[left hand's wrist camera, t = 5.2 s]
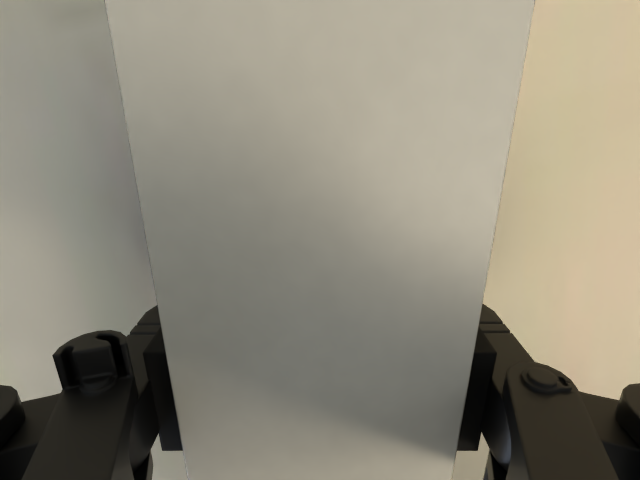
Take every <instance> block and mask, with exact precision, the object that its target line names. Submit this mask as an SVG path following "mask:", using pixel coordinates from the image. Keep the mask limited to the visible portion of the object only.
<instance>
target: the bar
mask: <svg viewBox="0 0 640 480" xmlns="http://www.w3.org/2000/svg"><path fill="white" fill-rule="evenodd" d="M104 1H105V7H106V13H107V18H108V24H109V30H110V36H111V41H112V47H113V53H114V59H115V64H116V70H117V76H118V82H119V87H120V93H121V99H122V104H123V110H124V116H125V122H126V127H127V133H128V139H129V145H130V150H131V156H132V162H133V167H134V173H135V179H136V185H137V190H138V196H139V202H140V208H141V213H142V219H143V225H144V231H145V236H146V242H147V248H148V253H149V259H150V265H151V271H152V276H153V282H154V288H155V294H156V299H157V305H158V311H159V316H160V322H161V328H162V334H163V339H164V345H165V351H166V357H167V362H168V368H169V374H170V380H171V385H172V391H173V397H174V402H175V408H176V414H177V420H178V425H179V431H180V437H181V443H182V448H183V454H184V460H185V465H186V471H187V477H188V480H452V475H453V469H454V463H455V458H456V452H457V446H458V440H459V435H460V429H461V423H462V418H463V412H464V406H465V400H466V395H467V389H468V383H469V377H470V372H471V366H472V360H473V354H474V349H475V343H476V337H477V331H478V326H479V320H480V314H481V308H482V303H483V297H484V291H485V285H486V280H487V274H488V268H489V263H490V257H491V251H492V245H493V240H494V234H495V228H496V222H497V217H498V211H499V205H500V199H501V194H502V188H503V182H504V176H505V171H506V165H507V159H508V153H509V148H510V142H511V136H512V130H513V125H514V119H515V113H516V108H517V102H518V96H519V90H520V85H521V79H522V73H523V67H524V62H525V56H526V50H527V44H528V39H529V33H530V27H531V21H532V16H533V10H534V4H535V0H104Z"/></svg>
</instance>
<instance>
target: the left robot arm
mask: <svg viewBox="0 0 640 480" xmlns="http://www.w3.org/2000/svg"><path fill="white" fill-rule="evenodd" d="M53 359H54V362H55V365H56V369H57V372H58V375H59V378H60V382H61V385H62V388H63V390H62V392H61V393H59V394H56V395H52V396H47V397H43V398H38V399H33V400H29V401H24V402H21V401H20V398H19V395H18V392H17V391H16V390H15V389H14V388H12V387H11V386H3V385H0V480H152V473H153V460H152V455H151V448H152V446H153V443H154V441H155V439H156V437H157V435H158V433H159V437H160V442H161V447H162V451H183V448H182V443H181V437H180V431H179V425H178V420H177V414H176V408H175V402H174V397H173V391H172V385H171V380H170V374H169V368H168V362H167V357H166V351H165V345H164V339H163V334H162V328H161V322H160V316H159V311H158V305H157V306H155V307H154V308H152V309H150V310H149V311H147V312H146V313H145V314H144V316H143V317H142V318H141V319H140V321H139V322H138V323H137V325H136V326H135V327H134V328H133V329H132V331H131V332H130V335H128V336H127V337H126V336H124V335H123V334H122V333H121V332H117V331H112V330H106V331H96V332H92V333H87V334H84V335H81V336H79V337H77V338H74V339H72V340H70V341H68V342H67V343H65V344H64V345H62V346H61V347H59V349H58V350H57V351H56V352H55V353H54V354H53ZM481 432H482V434H483V436H484V438H485V440H486V442H487V444H488V446H489V448H490V450H489V455H488V459H487V464H486V468H485V473H484V478H483V480H640V383H639V384H630V385H628V386H627V387H626V388H624V389H623V391H622V394H621V397H620V400H615V399H610V398H605V397H601V396H596V395H591V394H587V393H583V392H580V391H578V389H577V387H576V386H575V385H574V383H573V382H572V381H571V380H570V379H569V378H568V377H567V376H565V375H564V374H563V373H561V372H560V371H558V370H556V369H554V368H551V367H549V366H547V365H544V364H540V363H536V362H534V360H533V359H532V358H531V357H530V355H529V354H528V353H527V352H526V350H525V349H524V348H523V347H522V345H521V344H520V343H519V342H518V340H517V339H516V338H515V337H514V335H513V334H512V333H510V330H509V329H508V328H507V327H506V325H505V324H503V322H502V321H501V319H500V318H499V317H498V316H497V314H496V313H495V312H494V311H493V310H491V309H490V308H488V307H487V306H485V305H484V304H482V308H481V314H480V320H479V326H478V331H477V337H476V343H475V349H474V354H473V360H472V366H471V372H470V377H469V383H468V389H467V395H466V400H465V406H464V412H463V418H462V423H461V429H460V435H459V440H458V446H457V451H478V446H479V441H480V436H481Z"/></svg>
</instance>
